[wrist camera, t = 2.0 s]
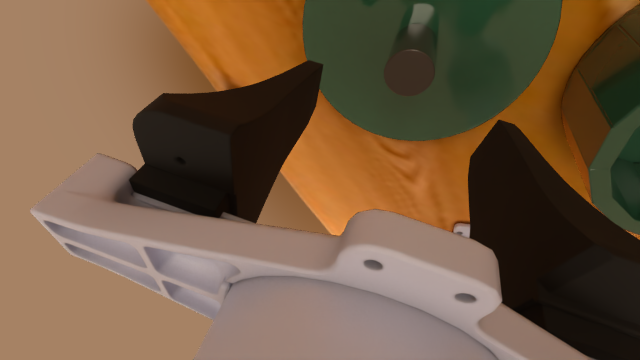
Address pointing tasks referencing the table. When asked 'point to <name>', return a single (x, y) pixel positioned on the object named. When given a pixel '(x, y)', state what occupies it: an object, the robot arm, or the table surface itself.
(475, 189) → the robot arm
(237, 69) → the table surface
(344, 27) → the lid
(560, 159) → the table surface
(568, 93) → the pot
